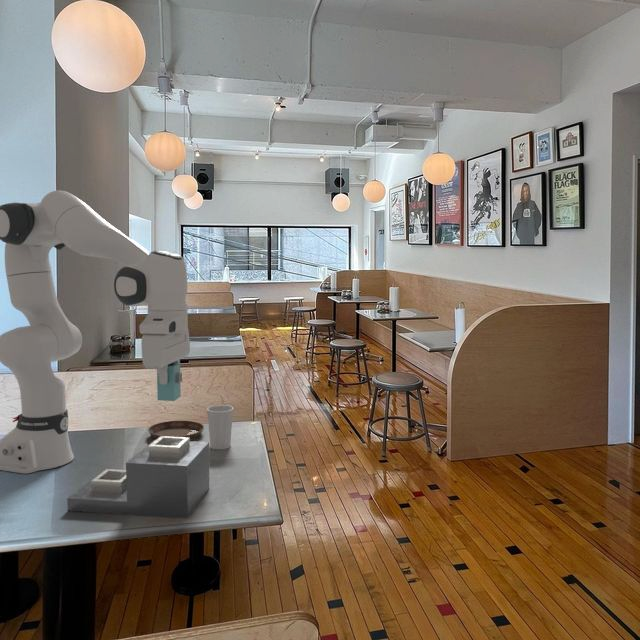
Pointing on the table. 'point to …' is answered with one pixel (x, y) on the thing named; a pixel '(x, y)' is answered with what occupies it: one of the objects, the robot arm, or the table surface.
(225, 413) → the cup
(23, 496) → the table surface
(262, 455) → the table surface
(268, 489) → the table surface
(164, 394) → the plug
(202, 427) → the plant saucer
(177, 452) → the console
